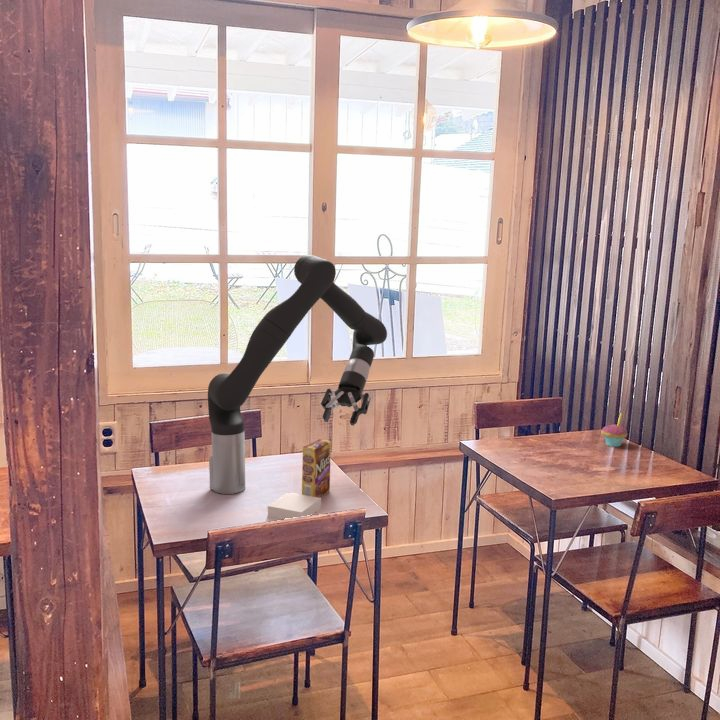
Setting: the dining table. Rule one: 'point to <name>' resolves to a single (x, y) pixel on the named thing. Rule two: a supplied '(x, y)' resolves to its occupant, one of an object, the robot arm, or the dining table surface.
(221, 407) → the robot arm
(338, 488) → the dining table surface
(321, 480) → the candy box
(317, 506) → the plate
